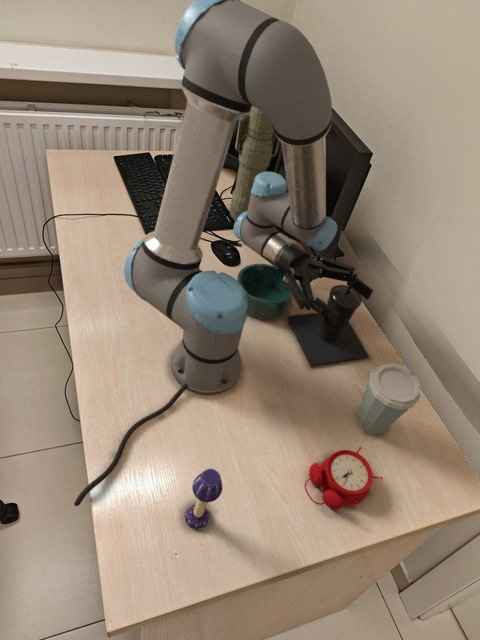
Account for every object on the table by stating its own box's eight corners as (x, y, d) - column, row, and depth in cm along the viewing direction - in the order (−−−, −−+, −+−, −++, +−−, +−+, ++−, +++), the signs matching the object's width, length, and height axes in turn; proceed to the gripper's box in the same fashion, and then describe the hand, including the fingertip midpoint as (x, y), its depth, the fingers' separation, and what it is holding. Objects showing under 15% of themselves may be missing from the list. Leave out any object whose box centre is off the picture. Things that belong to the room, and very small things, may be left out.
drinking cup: (343, 349, 114) (374, 289, 99) (313, 344, 113) (340, 283, 98) (341, 327, 119) (370, 266, 104) (312, 322, 118) (337, 260, 103)
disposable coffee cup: (368, 450, 97) (398, 411, 86) (337, 410, 102) (361, 369, 91) (402, 430, 102) (435, 391, 91) (371, 394, 107) (398, 353, 96)
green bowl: (286, 326, 116) (292, 309, 111) (228, 312, 115) (232, 294, 111) (291, 288, 126) (297, 271, 121) (238, 275, 125) (242, 258, 120)
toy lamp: (211, 504, 83) (224, 461, 71) (213, 530, 80) (227, 491, 68) (184, 505, 82) (192, 463, 69) (185, 532, 79) (194, 492, 66)
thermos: (221, 206, 144) (239, 87, 118) (257, 206, 148) (282, 91, 122) (228, 223, 139) (248, 103, 113) (265, 223, 143) (293, 107, 117)
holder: (367, 358, 114) (369, 356, 114) (310, 367, 109) (311, 365, 108) (341, 312, 123) (342, 310, 123) (286, 318, 118) (287, 316, 117)
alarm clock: (390, 482, 89) (337, 507, 80) (373, 497, 93) (320, 524, 84) (358, 438, 94) (305, 457, 85) (343, 454, 98) (290, 475, 89)
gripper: (313, 250, 122) (377, 297, 115) (248, 287, 108) (316, 342, 100) (321, 227, 116) (389, 274, 109) (254, 262, 102) (327, 318, 95)
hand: (354, 306), depth 105 cm, fingers open, 13 cm apart
